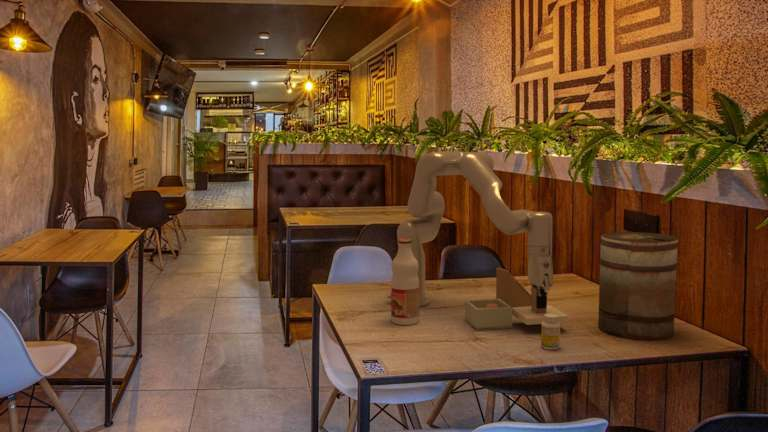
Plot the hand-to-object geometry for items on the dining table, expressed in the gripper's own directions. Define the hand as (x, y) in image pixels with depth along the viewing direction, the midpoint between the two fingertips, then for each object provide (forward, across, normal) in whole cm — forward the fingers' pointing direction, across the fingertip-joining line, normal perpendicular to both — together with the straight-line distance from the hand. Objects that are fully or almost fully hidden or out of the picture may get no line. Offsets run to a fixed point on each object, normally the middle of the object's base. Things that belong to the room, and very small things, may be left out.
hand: (538, 305), depth 207 cm
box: (+7, +6, +15) cm, 18 cm away
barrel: (+7, -9, -29) cm, 31 cm away
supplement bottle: (+7, -20, +5) cm, 22 cm away
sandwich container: (+7, +25, -4) cm, 26 cm away
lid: (+4, 0, 0) cm, 4 cm away
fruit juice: (+7, +15, +41) cm, 44 cm away
